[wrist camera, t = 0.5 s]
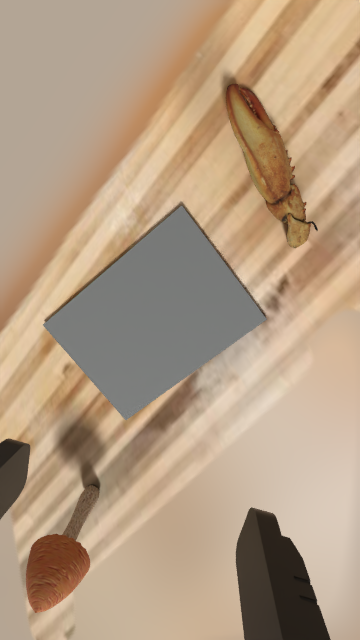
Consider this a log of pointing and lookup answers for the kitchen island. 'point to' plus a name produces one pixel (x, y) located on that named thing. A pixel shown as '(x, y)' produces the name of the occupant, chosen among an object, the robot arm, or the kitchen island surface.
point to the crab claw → (267, 162)
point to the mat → (155, 315)
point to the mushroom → (59, 559)
